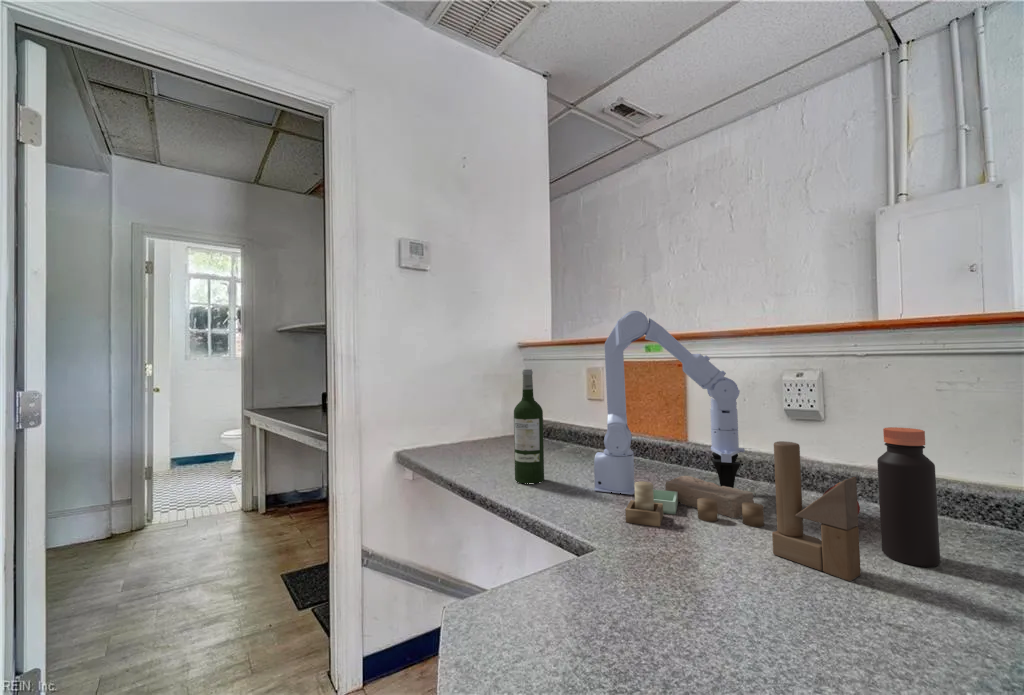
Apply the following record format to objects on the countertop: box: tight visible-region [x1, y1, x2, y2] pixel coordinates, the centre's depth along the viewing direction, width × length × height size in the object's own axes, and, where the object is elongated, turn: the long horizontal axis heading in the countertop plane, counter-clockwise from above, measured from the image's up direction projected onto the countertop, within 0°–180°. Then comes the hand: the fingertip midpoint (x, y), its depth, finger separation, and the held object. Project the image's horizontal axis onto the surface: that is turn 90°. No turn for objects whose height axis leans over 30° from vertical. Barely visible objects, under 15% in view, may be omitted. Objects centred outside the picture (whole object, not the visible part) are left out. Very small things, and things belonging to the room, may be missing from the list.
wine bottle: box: [513, 368, 545, 485], centre depth 119 cm, size 8×8×30 cm
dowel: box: [634, 480, 654, 511], centre depth 88 cm, size 4×4×7 cm
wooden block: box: [771, 440, 862, 582], centre depth 68 cm, size 4×11×18 cm, turn 31°
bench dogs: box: [697, 498, 765, 528], centre depth 86 cm, size 12×4×4 cm, turn 66°
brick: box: [664, 475, 755, 519], centre depth 96 cm, size 17×8×5 cm, turn 35°
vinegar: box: [876, 426, 941, 568], centre depth 69 cm, size 7×7×20 cm
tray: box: [653, 488, 679, 515], centre depth 95 cm, size 6×8×2 cm
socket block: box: [624, 499, 664, 528], centre depth 88 cm, size 6×6×2 cm
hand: (726, 487), depth 102 cm, fingers open, 7 cm apart
